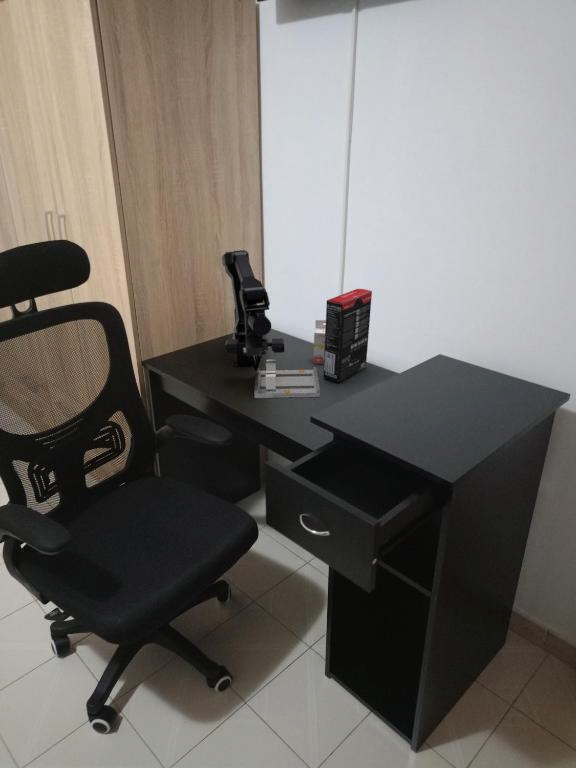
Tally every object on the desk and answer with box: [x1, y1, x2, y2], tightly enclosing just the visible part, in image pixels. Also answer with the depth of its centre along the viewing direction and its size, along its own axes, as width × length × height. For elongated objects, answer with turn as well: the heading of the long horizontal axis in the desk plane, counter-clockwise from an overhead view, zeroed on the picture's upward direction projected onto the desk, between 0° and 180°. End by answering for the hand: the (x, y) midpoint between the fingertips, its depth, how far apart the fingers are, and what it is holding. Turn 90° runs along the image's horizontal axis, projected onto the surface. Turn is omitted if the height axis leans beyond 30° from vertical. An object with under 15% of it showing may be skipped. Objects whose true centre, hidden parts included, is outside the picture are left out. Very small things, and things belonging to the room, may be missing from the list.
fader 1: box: [265, 359, 277, 372], centre depth 177 cm, size 3×4×5 cm
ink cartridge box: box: [313, 319, 326, 365], centre depth 189 cm, size 9×5×15 cm, turn 84°
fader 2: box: [265, 370, 276, 390], centre depth 169 cm, size 3×4×5 cm
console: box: [253, 366, 321, 399], centre depth 175 cm, size 20×17×2 cm
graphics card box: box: [322, 288, 373, 384], centre depth 177 cm, size 17×7×27 cm, turn 141°
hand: (256, 370), depth 178 cm, fingers closed
